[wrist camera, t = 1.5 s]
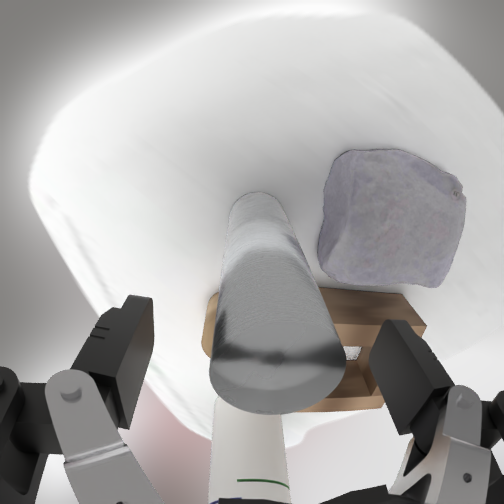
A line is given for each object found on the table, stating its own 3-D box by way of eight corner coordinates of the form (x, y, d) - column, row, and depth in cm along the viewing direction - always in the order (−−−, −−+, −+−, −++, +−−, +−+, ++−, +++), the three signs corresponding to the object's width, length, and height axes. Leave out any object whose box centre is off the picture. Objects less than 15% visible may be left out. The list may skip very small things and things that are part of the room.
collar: (401, 294, 25) (426, 326, 20) (366, 373, 29) (380, 408, 24) (297, 285, 24) (309, 321, 20) (275, 372, 28) (279, 412, 24)
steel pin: (289, 196, 21) (364, 325, 8) (279, 247, 23) (324, 415, 9) (232, 188, 21) (213, 313, 7) (226, 241, 23) (206, 410, 9)
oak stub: (258, 291, 24) (261, 325, 20) (251, 330, 26) (253, 366, 22) (209, 286, 24) (202, 319, 20) (205, 326, 26) (200, 361, 22)
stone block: (321, 144, 22) (309, 271, 24) (344, 134, 17) (328, 291, 19) (440, 169, 23) (427, 276, 25) (475, 169, 18) (458, 292, 20)
